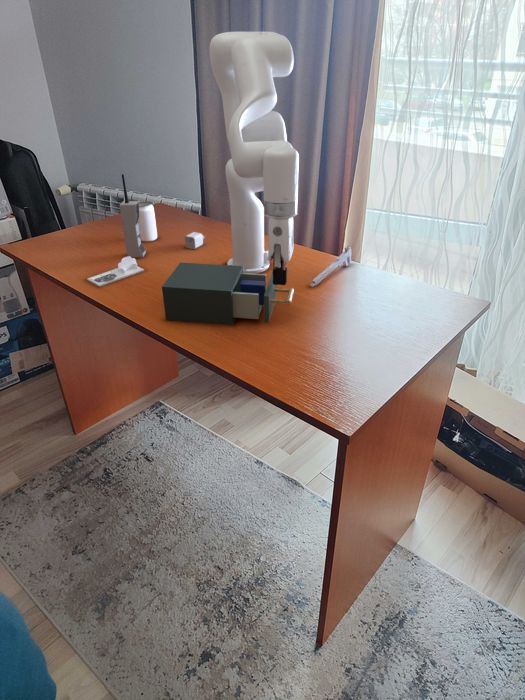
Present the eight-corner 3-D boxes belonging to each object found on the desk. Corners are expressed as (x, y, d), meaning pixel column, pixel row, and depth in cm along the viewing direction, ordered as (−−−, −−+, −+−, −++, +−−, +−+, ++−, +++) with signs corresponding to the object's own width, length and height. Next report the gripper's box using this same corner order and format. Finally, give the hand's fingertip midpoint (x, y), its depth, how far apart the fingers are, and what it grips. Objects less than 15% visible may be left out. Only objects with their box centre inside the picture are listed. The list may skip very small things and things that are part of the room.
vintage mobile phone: (143, 257, 156) (131, 175, 143) (127, 257, 156) (114, 175, 143) (146, 253, 159) (134, 172, 146) (130, 253, 159) (117, 172, 146)
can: (137, 236, 172) (132, 201, 166) (156, 234, 174) (152, 200, 167) (139, 243, 167) (134, 207, 161) (158, 240, 169) (154, 205, 162)
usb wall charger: (185, 247, 163) (184, 235, 161) (198, 240, 169) (197, 229, 166) (195, 249, 162) (194, 237, 160) (207, 242, 167) (207, 231, 165)
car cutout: (131, 264, 152) (129, 250, 149) (144, 270, 148) (142, 256, 145) (87, 280, 142) (83, 265, 140) (99, 286, 139) (96, 271, 136)
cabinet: (244, 297, 132) (243, 266, 128) (232, 325, 120) (231, 291, 115) (183, 293, 135) (180, 262, 130) (165, 319, 122) (161, 286, 118)
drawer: (295, 298, 130) (296, 273, 126) (289, 324, 118) (289, 297, 114) (218, 293, 132) (216, 268, 129) (205, 318, 121) (203, 291, 117)
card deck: (265, 300, 126) (265, 281, 123) (264, 305, 124) (264, 285, 121) (242, 299, 127) (242, 279, 124) (240, 303, 125) (240, 283, 122)
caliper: (347, 264, 151) (349, 244, 148) (350, 264, 151) (352, 245, 147) (309, 286, 138) (310, 265, 134) (312, 287, 137) (313, 266, 134)
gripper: (293, 218, 104) (291, 298, 113) (300, 198, 116) (298, 272, 126) (258, 216, 105) (259, 296, 114) (268, 197, 117) (268, 270, 127)
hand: (279, 283), depth 120 cm, fingers closed
